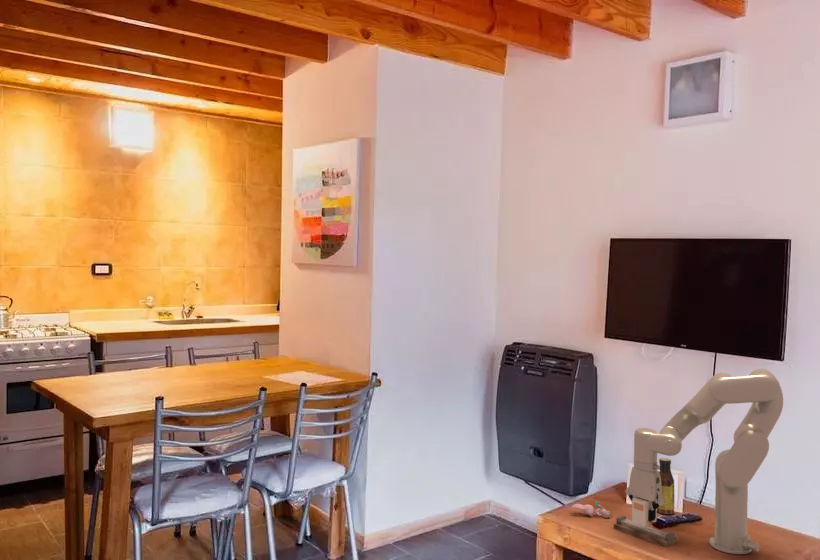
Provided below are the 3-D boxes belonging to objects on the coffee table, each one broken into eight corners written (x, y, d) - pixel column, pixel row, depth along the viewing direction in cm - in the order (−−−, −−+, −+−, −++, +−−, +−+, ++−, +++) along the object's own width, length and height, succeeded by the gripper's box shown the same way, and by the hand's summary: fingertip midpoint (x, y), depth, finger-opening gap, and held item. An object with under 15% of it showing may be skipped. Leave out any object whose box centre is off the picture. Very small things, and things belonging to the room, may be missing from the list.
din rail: (674, 538, 225) (674, 532, 225) (668, 541, 223) (668, 536, 223) (623, 520, 241) (623, 515, 241) (616, 523, 238) (616, 518, 238)
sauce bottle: (677, 515, 249) (677, 462, 249) (659, 515, 249) (660, 462, 249) (670, 509, 256) (670, 456, 255) (653, 508, 256) (654, 456, 255)
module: (656, 521, 232) (656, 498, 232) (644, 526, 227) (645, 503, 227) (643, 517, 236) (643, 494, 236) (631, 521, 231) (631, 498, 231)
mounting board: (677, 541, 226) (677, 537, 226) (665, 547, 222) (666, 542, 222) (625, 523, 242) (625, 519, 242) (613, 528, 237) (613, 524, 237)
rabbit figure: (611, 518, 251) (570, 508, 254) (614, 502, 250) (573, 492, 253) (612, 524, 245) (570, 514, 248) (615, 508, 244) (573, 498, 247)
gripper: (674, 469, 227) (673, 523, 227) (629, 457, 240) (628, 508, 241) (661, 473, 222) (660, 528, 223) (617, 461, 235) (616, 513, 236)
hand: (644, 517), depth 232 cm, fingers closed on module, 5 cm apart
